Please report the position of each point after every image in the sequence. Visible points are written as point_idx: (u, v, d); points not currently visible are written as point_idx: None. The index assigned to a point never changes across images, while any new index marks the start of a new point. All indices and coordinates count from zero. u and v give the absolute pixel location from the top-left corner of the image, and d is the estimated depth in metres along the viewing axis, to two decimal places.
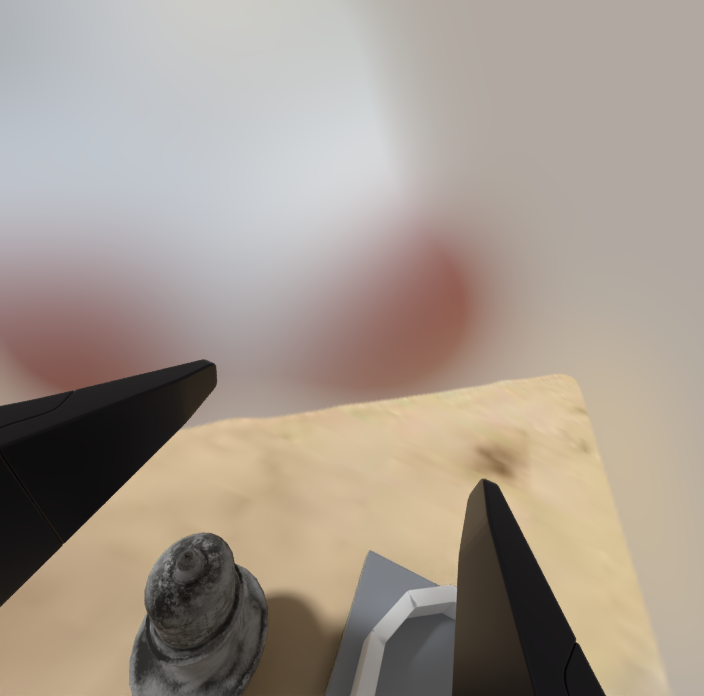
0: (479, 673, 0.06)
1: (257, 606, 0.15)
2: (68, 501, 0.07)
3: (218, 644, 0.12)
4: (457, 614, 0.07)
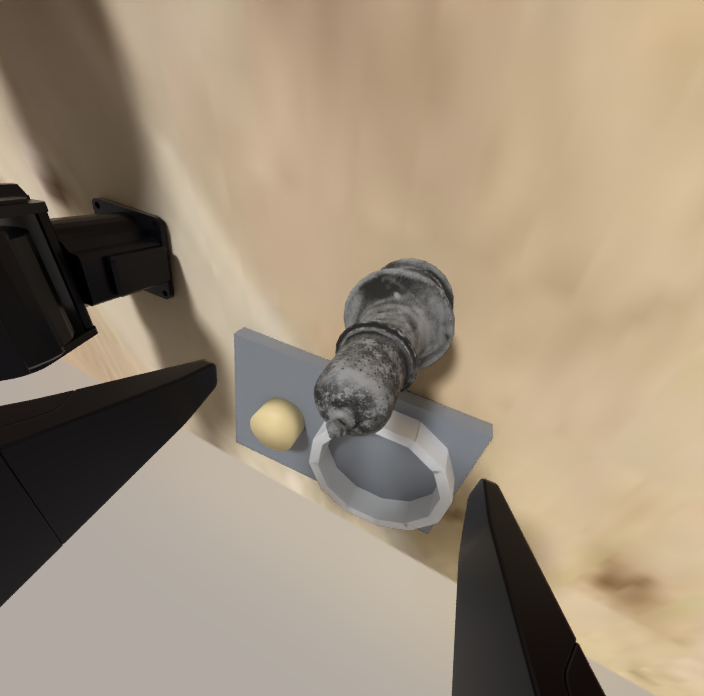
0: (479, 673, 0.06)
1: None
2: (68, 501, 0.07)
3: None
4: (457, 614, 0.07)
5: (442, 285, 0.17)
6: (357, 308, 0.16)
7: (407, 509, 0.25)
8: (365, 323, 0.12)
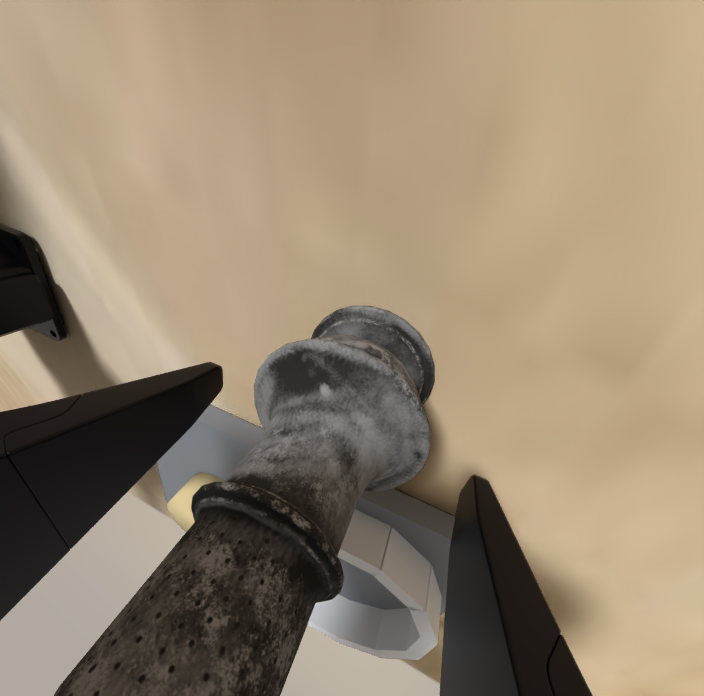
0: (466, 666, 0.06)
1: (371, 486, 0.10)
2: (76, 506, 0.07)
3: None
4: (446, 609, 0.07)
5: (415, 349, 0.11)
6: (268, 398, 0.09)
7: (379, 624, 0.19)
8: (227, 491, 0.06)
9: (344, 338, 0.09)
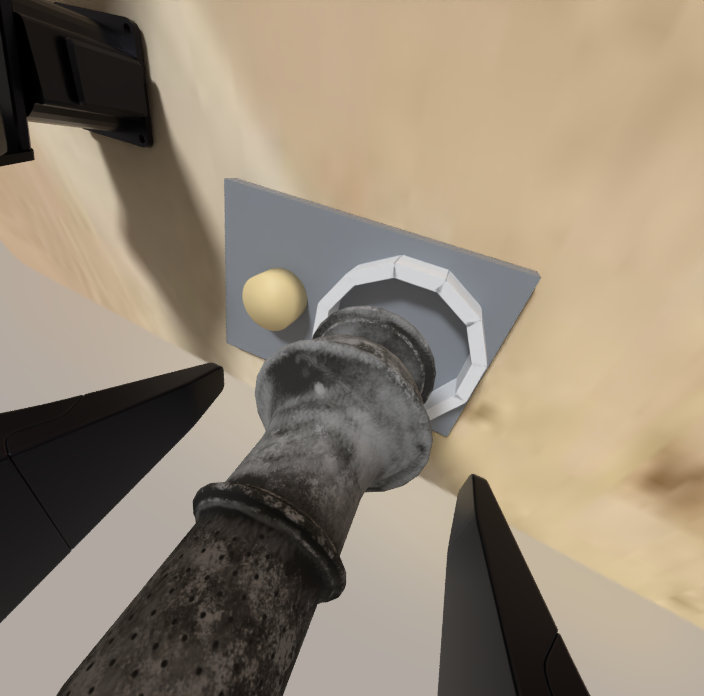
0: (463, 664, 0.06)
1: (379, 485, 0.10)
2: (77, 507, 0.07)
3: None
4: (445, 608, 0.07)
5: (412, 344, 0.11)
6: (269, 404, 0.10)
7: None
8: (221, 490, 0.06)
9: (336, 337, 0.09)
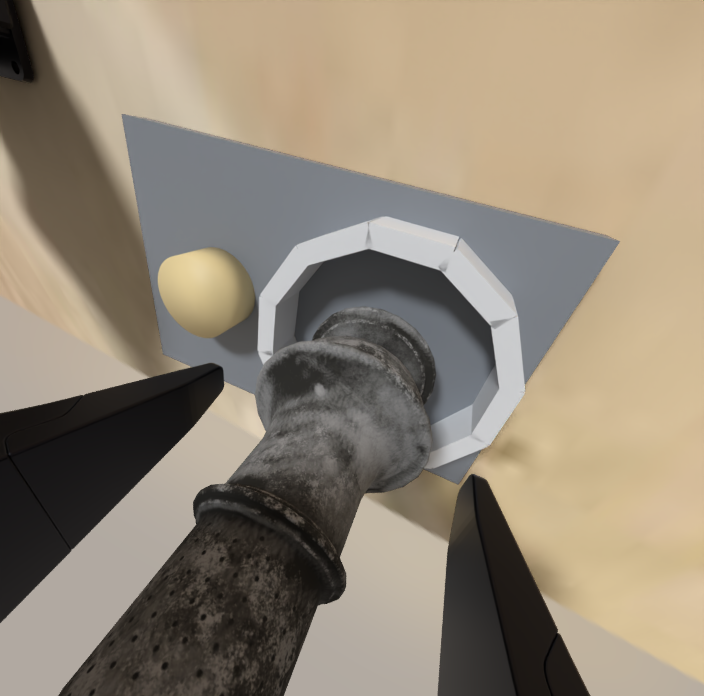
0: (463, 665, 0.06)
1: (380, 486, 0.10)
2: (77, 507, 0.07)
3: None
4: (444, 608, 0.07)
5: (412, 345, 0.11)
6: (269, 405, 0.10)
7: None
8: (222, 492, 0.06)
9: (336, 338, 0.09)
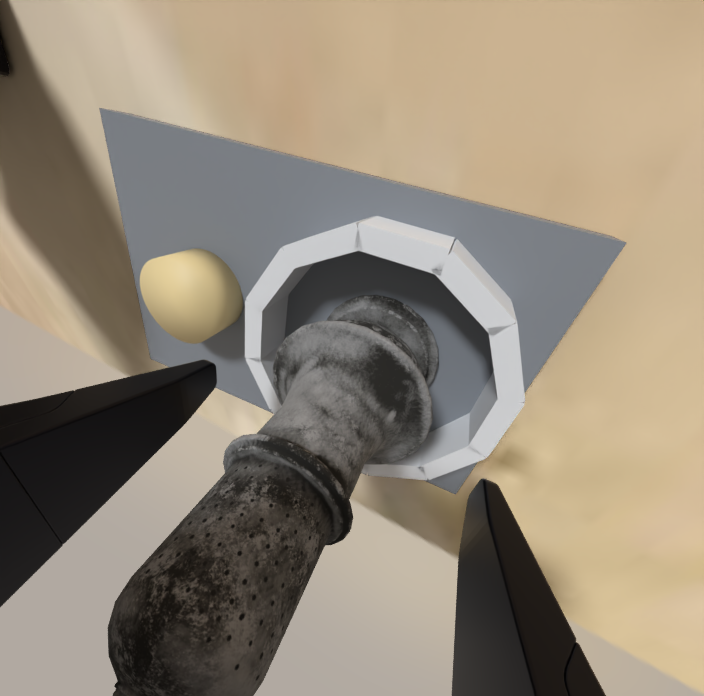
0: (479, 673, 0.06)
1: None
2: (68, 501, 0.07)
3: (224, 461, 0.08)
4: (457, 614, 0.07)
5: None
6: (344, 353, 0.09)
7: (423, 445, 0.14)
8: (337, 493, 0.06)
9: None
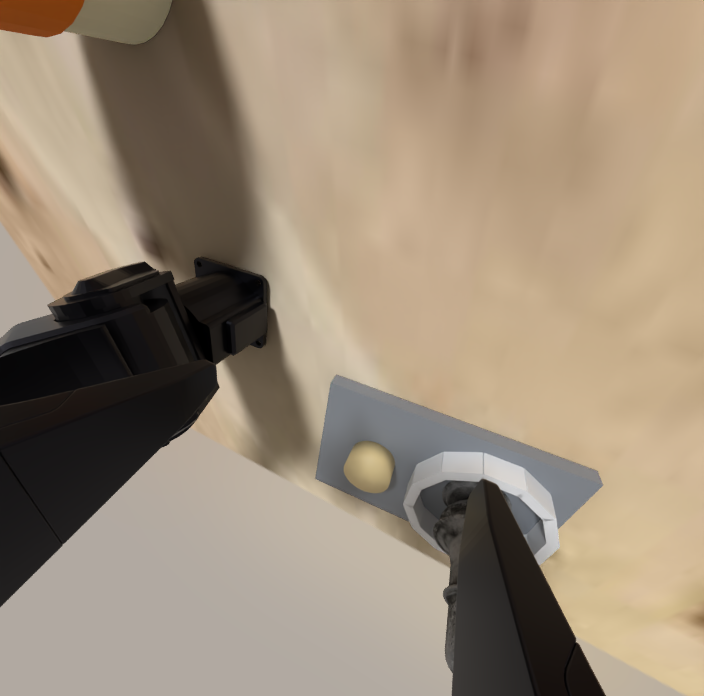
0: (479, 673, 0.06)
1: (448, 552, 0.23)
2: (68, 501, 0.07)
3: (446, 590, 0.19)
4: (457, 614, 0.07)
5: None
6: None
7: None
8: None
9: None
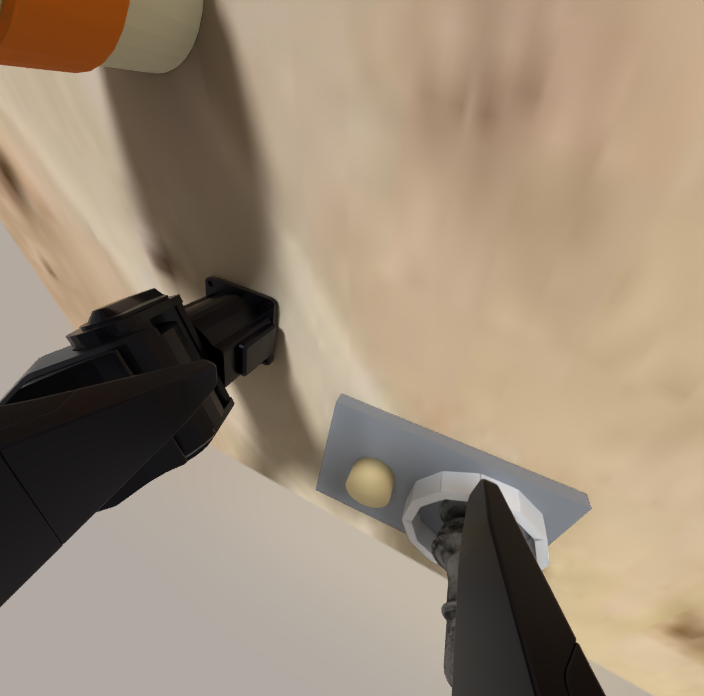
0: (479, 673, 0.06)
1: (444, 567, 0.25)
2: (68, 501, 0.07)
3: (445, 606, 0.20)
4: (457, 614, 0.07)
5: None
6: None
7: None
8: None
9: None
